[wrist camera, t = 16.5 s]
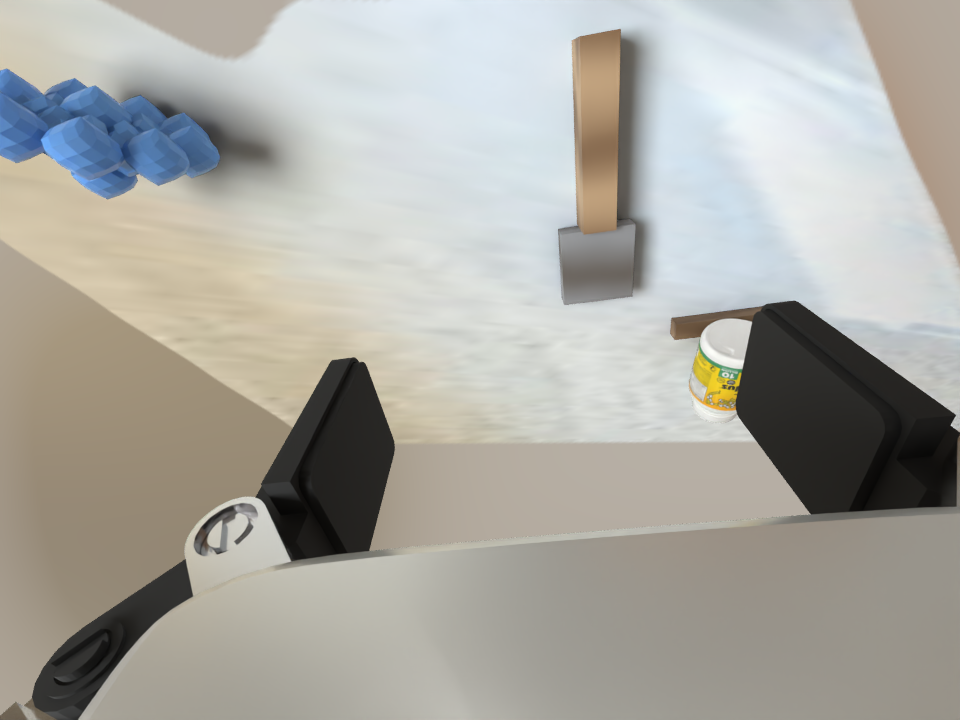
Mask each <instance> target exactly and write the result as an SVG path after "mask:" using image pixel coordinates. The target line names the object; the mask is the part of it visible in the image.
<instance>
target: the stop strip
mask: <svg viewBox="0 0 960 720" xmlns="http://www.w3.org/2000/svg"><path fill="white" fill-rule="evenodd" d="M761 309H762V307H755V308H747V309H739V310H732V311H724V312H716V313H708V314H701V315H693V316H685V317H677V318H672V319H671V330H670V334H671V335H672V337H673V338H674V339H675V340H679V339H687V338H695V337H701V335H702V332H703V331H704V329H705V328H706V327H707V326H708V325H710V324H711V323H713V322H715V321H718V320H722V319H731V318H732V319H741V320H747V321H751V322H752V320H753V317H754V314H755V313H756V312H758V311H761Z"/></svg>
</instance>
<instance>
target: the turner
mask: <svg viewBox="0 0 960 720" xmlns="http://www.w3.org/2000/svg"><path fill="white" fill-rule="evenodd" d="M620 39H621V29H618V30H612V31H607V32H602V33H596V34H591V35H586V36H580V37H578V38H576V39H574V40H572V64H573V99H574V134H575V169H576V204H577V225H578V226H577V227H570V228H563V229H558V235H559V254H560V273H561V292H562V300H563V303H564V305H569V304H577V303H585V302H593V301H601V300H608V299H616V298H624V297H632V293H633V270H634V248H635V226H636V224H635V223H634V222H633V221H632V220H631V219H625V220H618V221H617V180H618V133H619V86H620Z"/></svg>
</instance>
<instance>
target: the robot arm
mask: <svg viewBox="0 0 960 720" xmlns="http://www.w3.org/2000/svg"><path fill="white" fill-rule="evenodd" d="M735 406H736V412H737V415H738V416H739V418H740V420H741V421H742V422H743V424H744V425H745V426H746V428H747V429H748V430H749V432H750V433H751V434H752V436H753V437H754V438H755V440H756V441H757V442H758V444H759V445H760V446H761V448H762V449H763V450H764V452H765V453H766V455H767V456H768V457H769V459H770V460H771V461H772V463H773V464H774V465H775V467H776V468H777V469H778V471H779V472H780V473H781V475H782V476H783V477H784V479H785V480H786V482H787V483H788V484H789V486H790V487H791V488H792V489H793V491H794V492H795V494H796V495H797V496H798V497H799V499H800V500H801V502H802V503H803V504H804V506H805V507H806V508H807V510H808V511H809V513H810V514H811V515H798V516H786V517H772V518H759V519H746V520H733V521H719V522H705V523H693V524H679V525H667V526H654V527H642V528H629V529H617V530H604V531H592V532H580V533H567V534H555V535H543V536H531V537H520V538H508V539H496V540H484V541H474V542H461V543H449V544H438V545H427V546H415V547H405V548H394V549H386V550H375V551H369V549H370V545H371V541H372V537H373V533H374V530H375V526H376V522H377V518H378V514H379V510H380V506H381V502H382V499H383V495H384V491H385V487H386V483H387V479H388V475H389V471H390V468H391V463H392V460H393V456H394V450H395V446H394V440H393V437H392V434H391V431H390V428H389V426H388V423H387V420H386V418H385V415H384V412H383V409H382V407H381V404H380V401H379V398H378V396H377V393H376V390H375V388H374V385H373V382H372V379H371V377H370V374H369V371H368V369H367V366H366V364H365V363H364V362H359V361H358V360H357V359H356V358H346V359H338V360H332V361H331V362H330V364H329V366H328V367H327V369H326V371H325V373H324V374H323V376H322V378H321V380H320V381H319V383H318V385H317V387H316V388H315V390H314V392H313V394H312V395H311V397H310V399H309V401H308V402H307V404H306V406H305V408H304V409H303V411H302V413H301V415H300V416H299V418H298V420H297V422H296V424H295V425H294V427H293V429H292V431H291V432H290V434H289V436H288V438H287V439H286V441H285V443H284V445H283V446H282V448H281V450H280V452H279V453H278V455H277V457H276V459H275V460H274V462H273V464H272V466H271V467H270V469H269V471H268V473H267V475H266V476H265V478H264V480H263V482H262V483H261V485H262V487H261V489H260V490H259V492H258V494H257V496H256V497H255V498H254V497H241V498H237V499H233V500H230V501H228V502H226V503H224V504H222V505H220V506H218V507H217V508H215V509H214V510H212V511H211V512H209V513H208V514H207V515H206V516H205V517H204V518H202V519H201V520H200V521H199V522H198V523H197V524H196V526H195V527H194V528H193V530H192V531H191V532H190V534H189V536H188V538H187V541H186V543H185V558H186V559H185V560H183V561H182V562H181V563H179V564H178V565H176V566H175V567H173V568H172V569H170V570H169V571H167V572H166V573H164V574H163V575H161V576H160V577H158V578H157V579H155V580H154V581H152V582H151V583H149V584H148V585H146V586H145V587H143V588H142V589H140V590H139V591H137V592H136V593H134V594H133V595H131V596H130V597H128V598H127V599H125V600H124V601H122V602H121V603H119V604H118V605H116V606H115V607H113V608H112V609H110V610H109V611H107V612H106V613H104V614H103V615H101V616H100V617H98V618H97V619H95V620H94V621H92V622H91V623H89V624H88V625H86V626H85V627H83V628H82V629H81V630H80V631H79V632H77V633H76V634H75V635H73V636H72V637H71V638H69V639H68V640H67V641H66V642H65V643H64V644H63V645H62V646H61V647H60V648H59V649H58V650H57V651H56V652H55V653H54V655H53V656H52V657H51V659H50V660H49V661H48V662H47V664H46V665H45V666H44V668H43V669H42V671H41V673H40V675H39V677H38V679H37V681H36V683H35V686H34V690H33V695H32V699H31V700H30V701H28V702H27V703H26V704H25V705H24V706H23V705H21V704H19V703H17V702H15V703H14V704H13V705H12V706H11V707H9V708H8V709H7V710H6V711H5V712H4V713H3V714H2V715H0V720H960V432H958V431H957V430H956V429H954V428H953V427H952V426H950V425H951V423H952V421H953V420H954V418H955V416H956V415H955V414H954V413H952V412H951V411H950V410H948V409H947V408H945V407H944V406H943V405H941V404H940V403H938V402H937V401H936V400H934V399H933V398H931V397H930V396H929V395H927V394H926V393H924V392H923V391H922V390H920V389H919V388H917V387H916V386H915V385H913V384H912V383H910V382H909V381H908V380H906V379H905V378H903V377H902V376H901V375H899V374H898V373H896V372H895V371H894V370H892V369H891V368H889V367H888V366H887V365H885V364H884V363H883V362H881V361H880V360H878V359H877V358H876V357H874V356H873V355H871V354H870V353H869V352H867V351H866V350H864V349H863V348H862V347H860V346H859V345H857V344H856V343H855V342H853V341H852V340H850V339H849V338H848V337H846V336H845V335H843V334H842V333H841V332H839V331H838V330H836V329H835V328H834V327H832V326H831V325H829V324H828V323H827V322H825V321H824V320H822V319H821V318H820V317H818V316H817V315H815V314H814V313H813V312H811V311H810V310H808V309H807V308H806V307H804V306H803V305H801V304H800V303H799V302H796V301H787V302H779V303H771V304H766V305H764V306H763V307H762V309H761V311H758V312H756V313H755V314H754V317H753V320H752V325H751V330H750V335H749V339H748V344H747V349H746V354H745V359H744V364H743V368H742V373H741V378H740V383H739V388H738V392H737V397H736V403H735Z"/></svg>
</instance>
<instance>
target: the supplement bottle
mask: <svg viewBox="0 0 960 720" xmlns="http://www.w3.org/2000/svg"><path fill="white" fill-rule="evenodd" d="M751 325H752V322H751V321H747V320H741V319H732V318H731V319H722V320H718V321H715V322H713V323H711V324H710V325H708V326H707V327H706V328H705V329H704V331H703V332H702V335H701V338H700V341H699V345H698V349H697V353H696V356H695V360H694V364H693V368H692V372H691V376H690V380H689V391H690V394H691V396H692V398H693V399H692V407H693V410H694V411H695V413H696V414H697V415H698V416H699V417H701V418H702V419H704V420H706V421H708V422H712V423H726V422H729V421H731V420H732V419H733V418H734V417H735V416H736V414H737V412H736V406H735V403H736V397H737V392H738V388H739V383H740V378H741V373H742V368H743V364H744V359H745V354H746V349H747V344H748V339H749V335H750V330H751Z"/></svg>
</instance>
